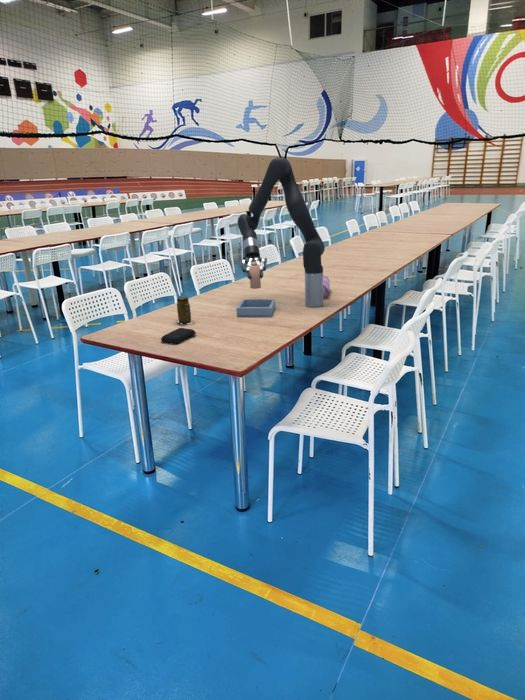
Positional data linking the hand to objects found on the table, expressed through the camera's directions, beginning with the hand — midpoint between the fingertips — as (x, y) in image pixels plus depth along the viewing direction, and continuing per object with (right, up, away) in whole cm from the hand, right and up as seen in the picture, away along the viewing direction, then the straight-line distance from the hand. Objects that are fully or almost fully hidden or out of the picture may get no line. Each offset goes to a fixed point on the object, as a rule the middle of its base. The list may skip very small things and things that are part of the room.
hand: (255, 277), depth 232 cm
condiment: (-34, -22, -2) cm, 40 cm away
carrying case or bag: (-33, -31, -24) cm, 51 cm away
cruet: (0, -4, +4) cm, 6 cm away
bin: (0, -16, +8) cm, 18 cm away
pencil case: (+36, -4, +35) cm, 50 cm away
